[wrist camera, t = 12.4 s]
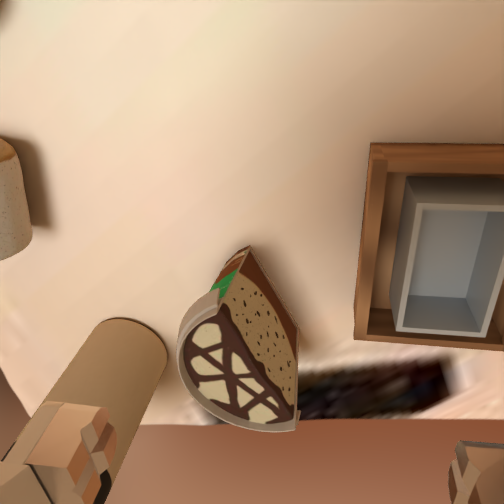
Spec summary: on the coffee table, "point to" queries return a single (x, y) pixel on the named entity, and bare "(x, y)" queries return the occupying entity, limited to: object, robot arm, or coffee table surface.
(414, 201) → the small crate
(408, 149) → the big crate
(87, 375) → the travel mug
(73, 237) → the coffee table surface
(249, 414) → the food container
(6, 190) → the ceramic mug
